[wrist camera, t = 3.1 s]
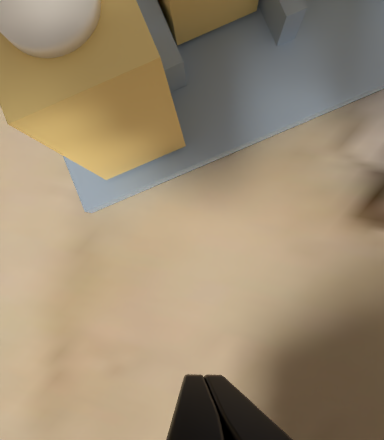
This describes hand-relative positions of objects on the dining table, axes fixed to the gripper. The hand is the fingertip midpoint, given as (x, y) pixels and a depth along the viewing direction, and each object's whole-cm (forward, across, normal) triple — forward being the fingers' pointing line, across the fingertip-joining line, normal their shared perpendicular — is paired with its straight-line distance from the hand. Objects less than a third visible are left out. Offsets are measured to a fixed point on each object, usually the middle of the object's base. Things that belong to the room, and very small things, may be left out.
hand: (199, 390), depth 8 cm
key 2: (+14, -2, +4) cm, 14 cm away
